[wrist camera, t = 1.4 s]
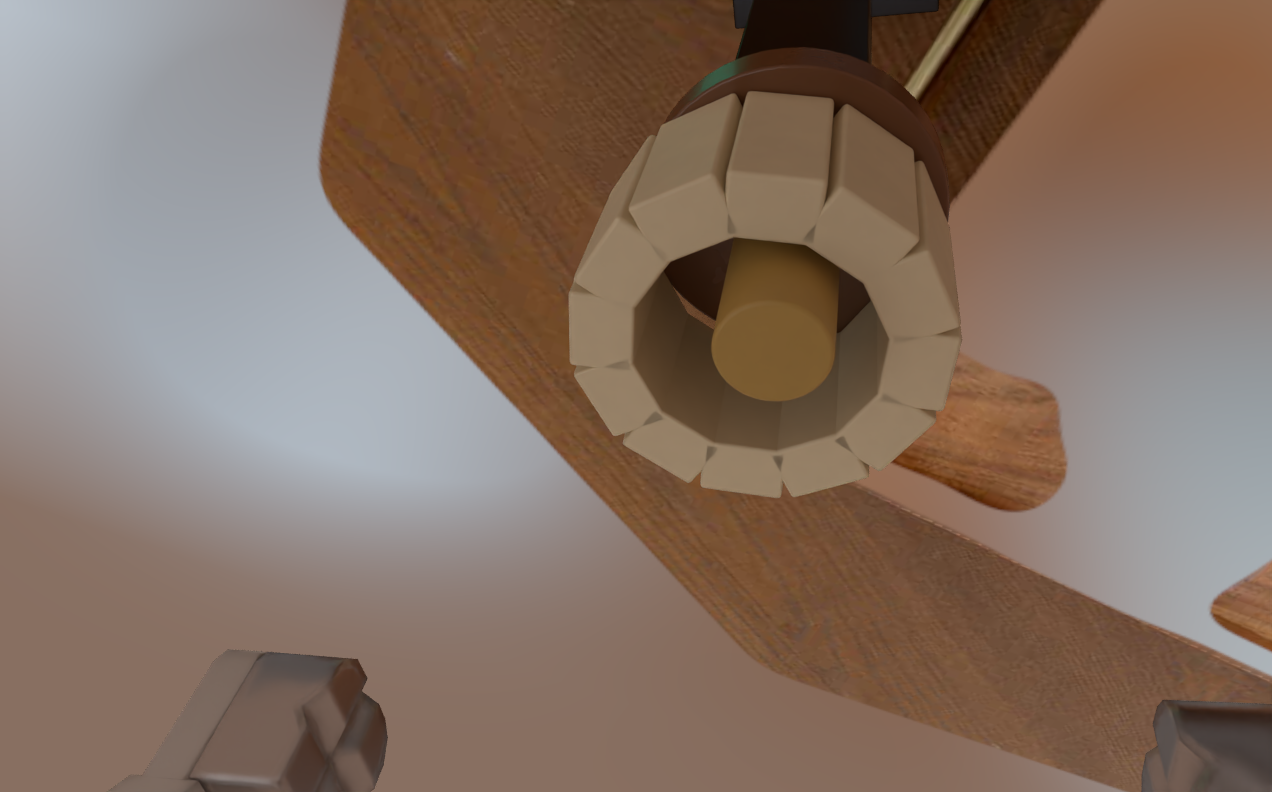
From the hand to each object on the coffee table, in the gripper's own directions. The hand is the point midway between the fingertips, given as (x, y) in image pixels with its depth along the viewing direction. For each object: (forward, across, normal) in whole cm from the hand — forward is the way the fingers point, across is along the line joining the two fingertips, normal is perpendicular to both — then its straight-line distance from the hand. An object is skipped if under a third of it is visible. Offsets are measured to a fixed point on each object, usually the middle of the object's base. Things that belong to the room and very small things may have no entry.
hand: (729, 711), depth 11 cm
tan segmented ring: (+12, +1, +1) cm, 12 cm away
